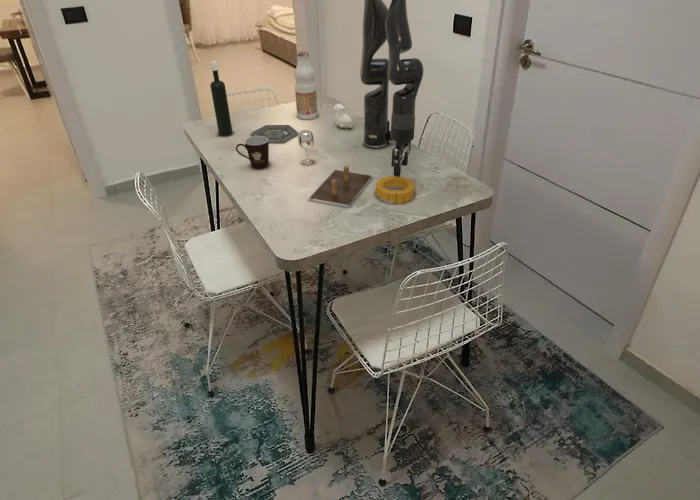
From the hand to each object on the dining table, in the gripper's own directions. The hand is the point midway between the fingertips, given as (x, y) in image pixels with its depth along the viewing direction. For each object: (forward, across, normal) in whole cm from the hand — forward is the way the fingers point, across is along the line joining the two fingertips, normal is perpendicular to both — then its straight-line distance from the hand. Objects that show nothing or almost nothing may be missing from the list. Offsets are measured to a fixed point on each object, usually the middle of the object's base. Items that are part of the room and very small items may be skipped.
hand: (400, 170), depth 165 cm
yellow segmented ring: (+6, -6, 0) cm, 8 cm away
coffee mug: (+7, -1, +56) cm, 56 cm away
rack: (+6, -8, +18) cm, 21 cm away
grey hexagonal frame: (+7, +27, +63) cm, 69 cm away
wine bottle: (+7, +21, +84) cm, 87 cm away
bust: (+7, +45, +39) cm, 60 cm away
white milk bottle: (+7, +52, +59) cm, 79 cm away
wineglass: (+7, +7, +38) cm, 39 cm away
